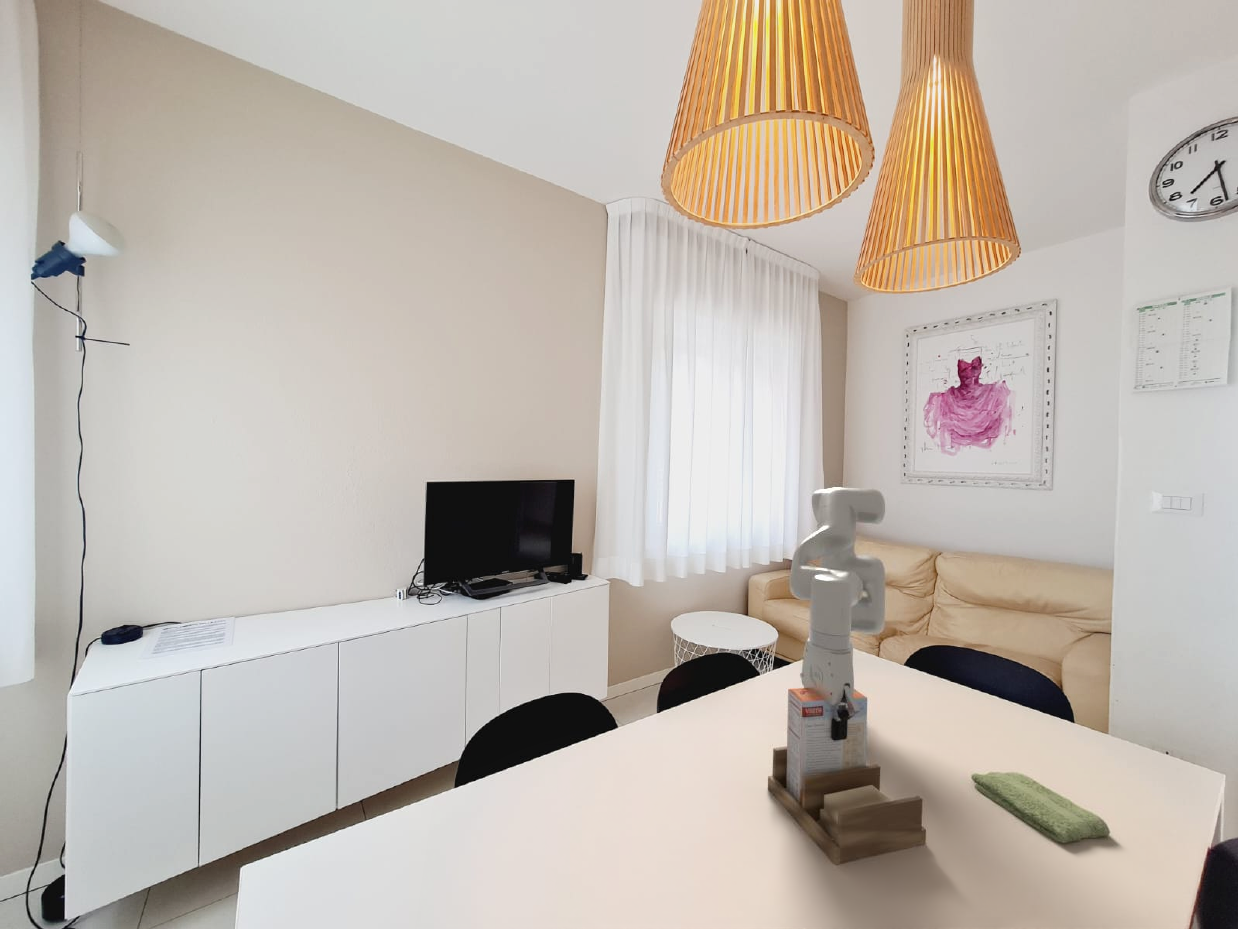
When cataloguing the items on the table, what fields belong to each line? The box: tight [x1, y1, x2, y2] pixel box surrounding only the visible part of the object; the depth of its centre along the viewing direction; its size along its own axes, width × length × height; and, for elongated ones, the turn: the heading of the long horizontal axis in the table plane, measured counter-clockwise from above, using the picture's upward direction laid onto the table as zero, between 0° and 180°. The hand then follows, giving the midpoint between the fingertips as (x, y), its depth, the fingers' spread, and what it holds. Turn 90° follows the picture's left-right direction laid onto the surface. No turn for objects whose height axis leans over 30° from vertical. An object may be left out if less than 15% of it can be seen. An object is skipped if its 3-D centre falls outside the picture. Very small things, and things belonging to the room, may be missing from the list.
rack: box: [767, 745, 927, 866], centre depth 91 cm, size 19×19×8 cm
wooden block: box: [818, 785, 893, 844], centre depth 86 cm, size 6×12×6 cm, turn 103°
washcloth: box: [970, 771, 1111, 844], centre depth 94 cm, size 13×18×3 cm
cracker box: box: [785, 687, 868, 807], centre depth 95 cm, size 14×6×21 cm, turn 100°
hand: (826, 728), depth 95 cm, fingers closed on cracker box, 6 cm apart
